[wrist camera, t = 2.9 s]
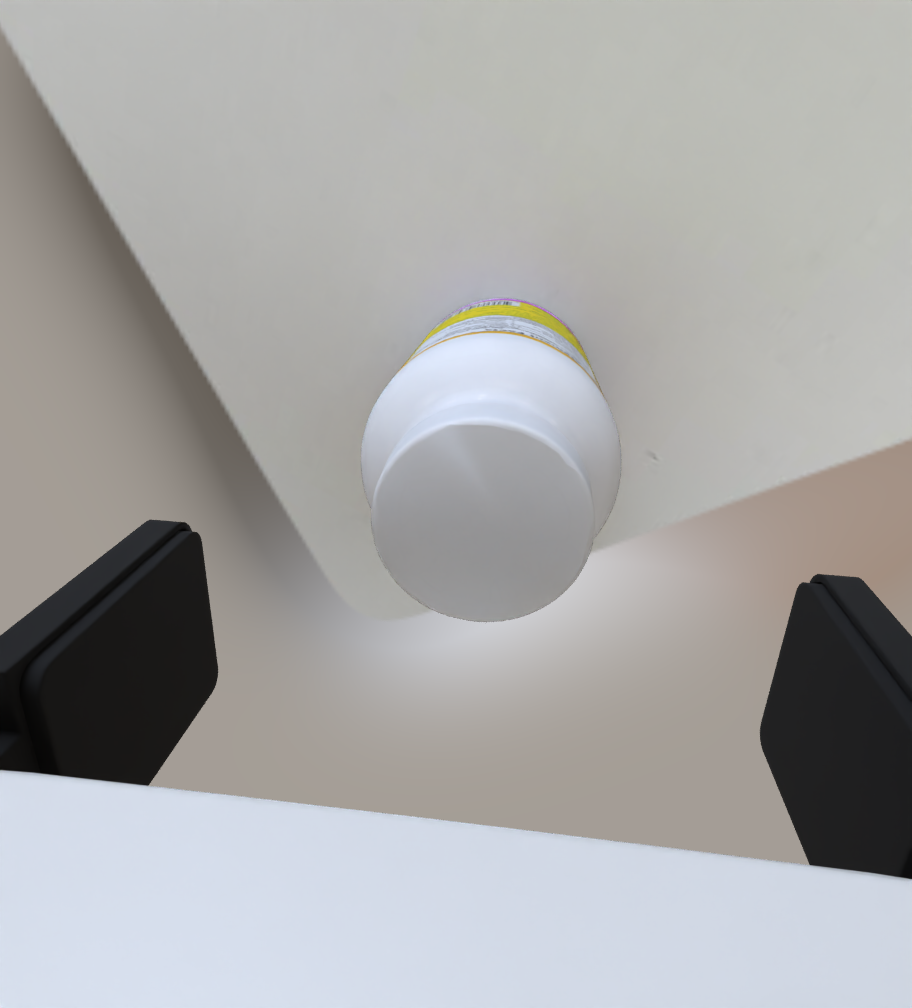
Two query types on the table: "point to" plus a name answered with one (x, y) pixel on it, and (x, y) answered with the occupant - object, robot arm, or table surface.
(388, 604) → the table surface
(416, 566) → the supplement bottle
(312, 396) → the table surface
